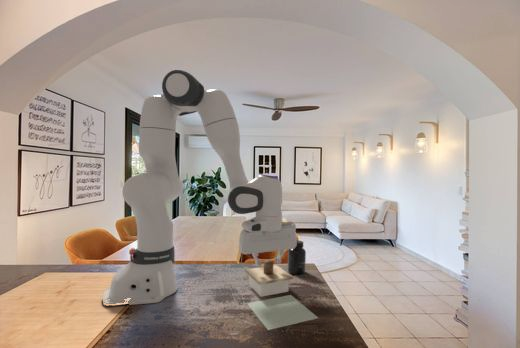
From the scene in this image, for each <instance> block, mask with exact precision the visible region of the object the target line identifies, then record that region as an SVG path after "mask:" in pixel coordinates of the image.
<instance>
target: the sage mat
mask: <svg viewBox="0 0 520 348" xmlns="http://www.w3.org/2000/svg"><path fill="white" fill-rule="evenodd" d="M246 304H247V306H248V307H249V309H251V310H252V312H253V313H254V314H255V316H256V317H257V318H258V319H259V321H260V322H261V323H262V325H263V326H264V327H265V328H266V330H268V331H270V330H275V329H278V328H283V327H288V326H291V325H295V324H299V323H304V322H308V321H313V320H316V319H319V317H318V316H317V315H316V314H315V313H313V312H312V311H311V310H309V308H307V307H306V306H305V305H304V304H302V303H301V302H300V301H299V300H298V299H297V298H295V296H293V295H292V294H289V295H283V296H279V297H273V298H268V299H263V300H258V301H252V302H246Z"/></svg>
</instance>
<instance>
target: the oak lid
mask: <svg viewBox="0 0 520 348" xmlns="http://www.w3.org/2000/svg"><path fill="white" fill-rule="evenodd" d="M244 271H245V273H246V274H247V275H248V277H249V276H250V277H251V278H253V279H254V280H255V281H256V282H257V283H258V284H259V285H262V284H268V283H273V282H279V281H285V280H289V281H290V280H293V279H294V276H293V275H292V274H291V273H289V272H288V271H286V270H284V269H282V268H281V267H280V266H279V265H277V264H275V265H274V260H272V259H265V260H263V266H261V267H260V266H258V267H252V268H246V269H245V270H244Z"/></svg>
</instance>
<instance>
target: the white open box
mask: <svg viewBox="0 0 520 348" xmlns="http://www.w3.org/2000/svg"><path fill="white" fill-rule="evenodd" d="M289 282H290V280H285V281H279V282H273V283H268V284H262V285H259V284H258V283H257V282H256V281H255V280H254V279H253V278H251V277H250V276H249V275H248V285H249V287H250V288H251V289H253V291H254V292H255V293H256V294H257V295H258V296H259V297H260V298H262V297H266V296H272V295H278V294H283V293H287V292H289V287H290V285H289Z"/></svg>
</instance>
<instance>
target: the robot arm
mask: <svg viewBox="0 0 520 348" xmlns="http://www.w3.org/2000/svg"><path fill="white" fill-rule="evenodd" d="M161 89H162V94H154V95H150V96H148V97H146V98H145V99H144V101H143V103H142V104H143V105H142V108H141V112H140V117H139V119H140V120H139V138H138V153H139V156H140V157H141V158H142V161H143V163H144V166H145V172H141V173H139V174H138V173H137V174H135V175H133V176H131V177H129V178H128V179H127V180H126V181H125V183H123V186H122V198H123V200H124V202H126V204H127V205H128V206H130V208H131V211H132V212H133V215H134V218H135V224H136V232H137V233H136V234H137V235H136V236H137V238H136V241H137V242H136V245H137V246H136V248H135V247H131V248H130V249H129V253H128V254H129V255H130V257H129V259H130V261H129V262H128V263H127V264H125V265H124V266H123V267H121V268H120V269H119V270H118V271H116V273H115V274H114V275H113V277H112V279H111V282H110V286H109V287H107V288H106V289H105V290H104V292H103V294H102V295H101V300H102V299H103V301H104V300H105V299H107V300H108V299H110V300H108V301H104V303H106V304H116V303H124V302H125V300H124V299H127V298H131V299H130V300H129V301H128V303H129V305H128V306H134V305H143V304H154V303H155V304H156V303H160V302H162V301H163V300H164V299H166V297H169V296H171V295H173V294H174V293H176V292H177V291H178V289H179V285H178V283H177V278H176V273H175V264H174V263H175V260H176V254H175V253H176V249H175V246H174V223H173V221H172V220H171V218H170V216H169V213H168V209H167V204H169V203H172V202H174V201H175V200H176V199H177V198H178V197H179V196H180V195H181V194H182V191H183V182H182V181H181V179H180V177H179V173H178V166H177V161H176V130H177V129H176V127H177V125H176V124H177V118H178V117H182V116H185V115H191V114H194V113H197V114H199V117H200V120H201V123H202V126H203V128H204V132H205V135H206V137H207V141H208V142H209V144H210V146H211V148H212V149H213V150H214V152H216V153H217V155H218V156H219V158H220V160H221V161H222V163H223V166H224V169H225V173H226V176H227V178H228V182H229V193H228V197H227V203H228V206H229V208H230V209H231V210H232V211H233V212H234V213H235V214H238V215H247V214H251V213H255V217H252V218H250V219H247V220H245V221H243V222H241V228H242V230H241V231H240V234H239V239H238V250H239V252H240V253H241V254H242V255H252V257H253V259H254V262H255V263H254V264H255V265H254V266H256V267H260V266H261V267H262V259H260V258H258V257H259V254H261V253H268V252H278V254H277V256H275V257H274V259H275V260H274V262H275V263H276V264H281V263H282V259H283V256H284V254H285V250H287V251H288V250H289V249H294V248H295V247H296V246H297V241H298V240H297V233H296V231H297V226H296V224H295V223H294V222H293V221H283V213H282V204H283V188H282V187H283V186H282V182H281V180H280V179H279V178H278V177H276V176H273V175H267V174H258V176H256V177H254V178H252V179H251V180H249V181H248V179H247V176H246V173H245V169H244V166H243V163H242V159H241V151H240V150H241V149H240V145H241V136H240V127H239V124H238V123H239V122H238V120H237V117H236V113H235V110H234V109H233V105H232V103H231V101H230V99H229V97H228V95H227V94H226V93H225V92H224V91H223V90H221V89H216V88H215V89H208V90H206V89H205V88H204V85H203V84H202V83H201V82H199V80H197V79H196V78H195V76H193V74H191V73H190V72H188V71H186V70H183V69H174V70H171V71H168V73H166V74H165V76H164V78H163V80H162V82H161ZM296 240H297V241H296ZM109 288H110V290H108V289H109ZM126 302H127V301H126Z"/></svg>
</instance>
